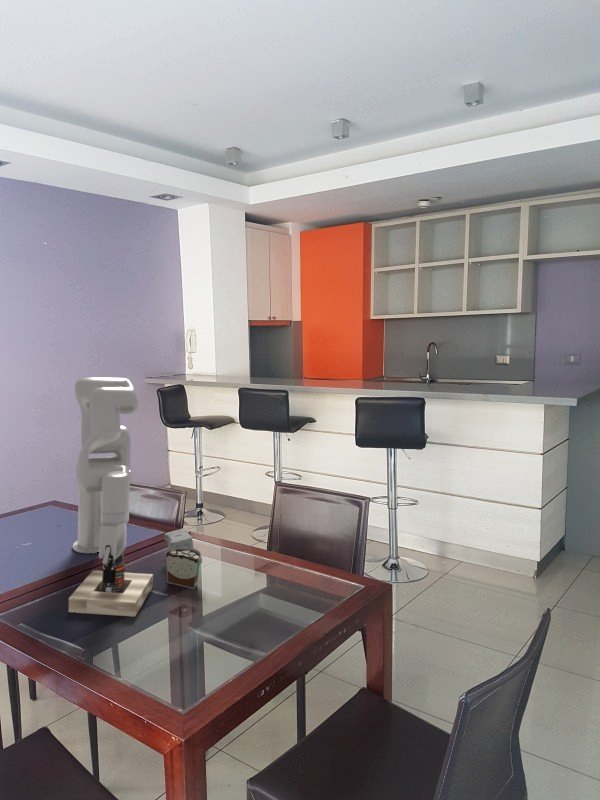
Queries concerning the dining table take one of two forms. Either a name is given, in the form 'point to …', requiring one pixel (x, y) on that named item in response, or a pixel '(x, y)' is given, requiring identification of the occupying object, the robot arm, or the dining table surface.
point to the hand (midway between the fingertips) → (113, 576)
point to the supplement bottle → (119, 581)
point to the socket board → (111, 595)
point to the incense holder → (178, 539)
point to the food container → (183, 566)
